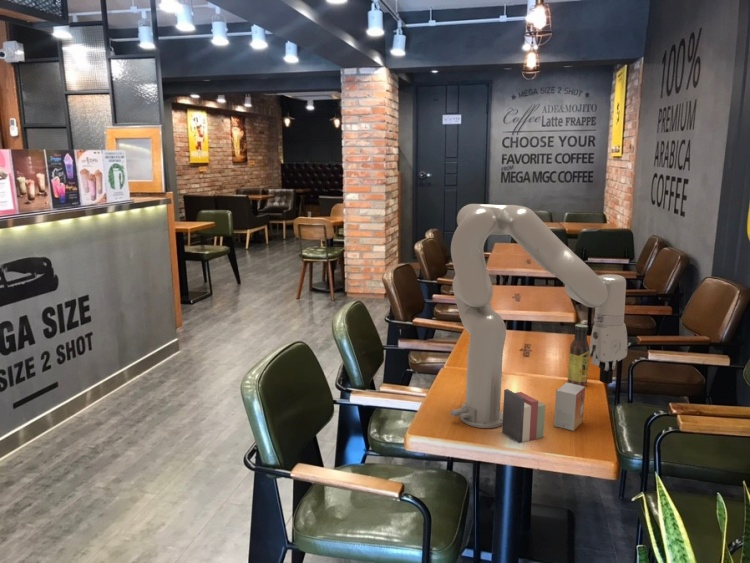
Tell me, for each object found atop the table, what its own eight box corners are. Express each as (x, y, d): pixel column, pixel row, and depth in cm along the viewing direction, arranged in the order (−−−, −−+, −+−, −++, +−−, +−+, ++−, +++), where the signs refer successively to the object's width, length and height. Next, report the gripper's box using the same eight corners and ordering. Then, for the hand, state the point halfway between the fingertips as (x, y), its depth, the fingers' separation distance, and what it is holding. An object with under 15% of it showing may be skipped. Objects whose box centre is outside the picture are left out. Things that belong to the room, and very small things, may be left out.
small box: (573, 431, 156) (576, 394, 155) (553, 426, 160) (555, 390, 158) (583, 421, 163) (586, 386, 161) (563, 416, 166) (566, 381, 164)
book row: (519, 442, 150) (521, 398, 148) (502, 432, 156) (504, 389, 154) (543, 437, 153) (546, 393, 151) (525, 426, 159) (528, 385, 157)
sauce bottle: (584, 389, 187) (589, 329, 184) (564, 385, 191) (569, 326, 187) (589, 382, 193) (593, 324, 189) (569, 379, 196) (573, 322, 192)
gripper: (599, 326, 155) (596, 391, 158) (639, 318, 161) (635, 381, 164) (578, 319, 161) (576, 382, 165) (618, 313, 167) (614, 373, 171)
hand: (605, 382), depth 164 cm, fingers closed
